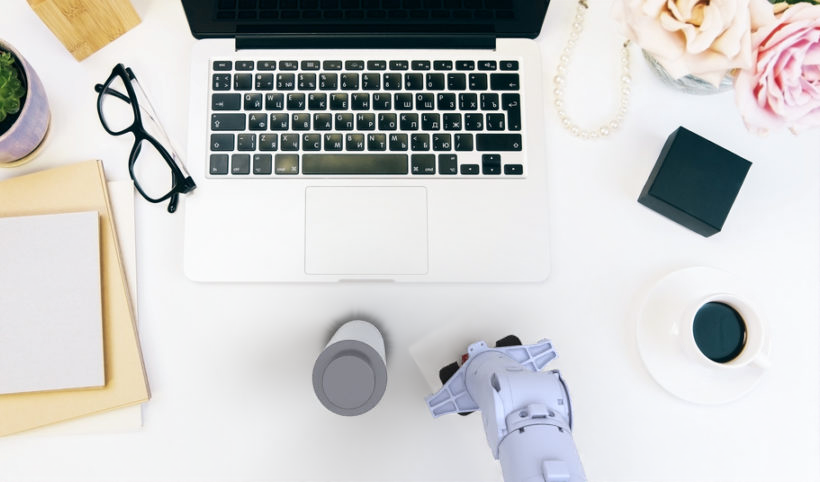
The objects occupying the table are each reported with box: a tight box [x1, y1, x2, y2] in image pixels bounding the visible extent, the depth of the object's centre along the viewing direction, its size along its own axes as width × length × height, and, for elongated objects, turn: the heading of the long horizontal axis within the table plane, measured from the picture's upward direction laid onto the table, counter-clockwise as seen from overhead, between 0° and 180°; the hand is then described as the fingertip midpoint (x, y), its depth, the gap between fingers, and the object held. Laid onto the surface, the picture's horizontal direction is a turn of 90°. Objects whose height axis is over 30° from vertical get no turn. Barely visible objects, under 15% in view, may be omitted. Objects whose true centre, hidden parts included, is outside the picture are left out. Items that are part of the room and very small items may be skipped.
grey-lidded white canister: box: [311, 319, 388, 417], centre depth 60 cm, size 6×6×24 cm
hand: (477, 365), depth 70 cm, fingers closed on dice, 4 cm apart
